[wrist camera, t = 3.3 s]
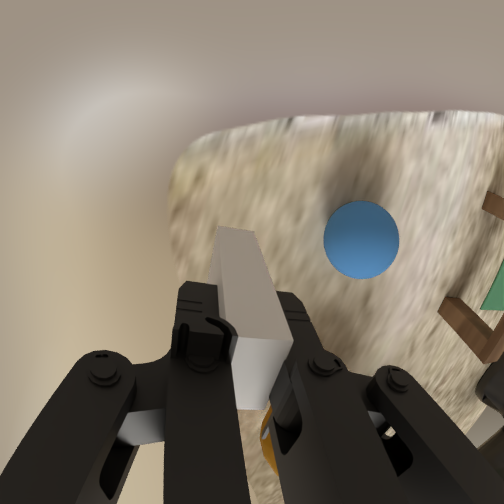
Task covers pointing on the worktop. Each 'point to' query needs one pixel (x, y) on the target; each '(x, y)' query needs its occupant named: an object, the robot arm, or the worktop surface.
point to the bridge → (467, 321)
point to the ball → (361, 239)
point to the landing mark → (495, 293)
